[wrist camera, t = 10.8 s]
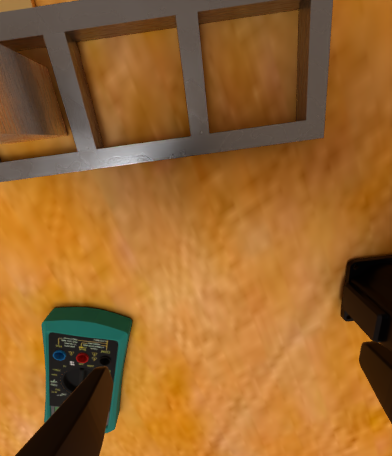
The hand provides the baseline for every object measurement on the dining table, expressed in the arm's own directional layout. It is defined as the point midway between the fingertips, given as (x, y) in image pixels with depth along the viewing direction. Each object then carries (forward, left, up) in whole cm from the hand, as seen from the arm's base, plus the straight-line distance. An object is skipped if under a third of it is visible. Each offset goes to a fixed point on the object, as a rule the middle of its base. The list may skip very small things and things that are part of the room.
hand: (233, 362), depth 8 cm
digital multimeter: (+14, +13, -12) cm, 23 cm away
